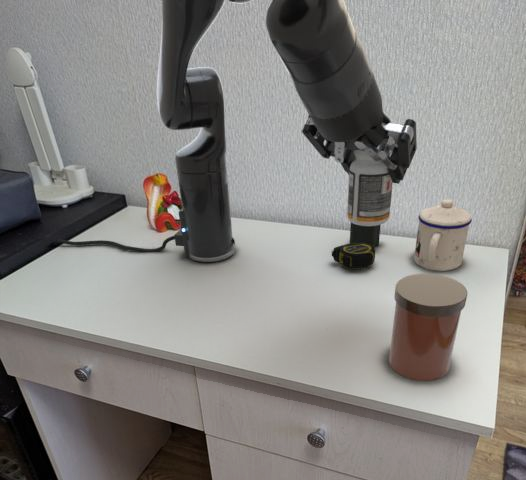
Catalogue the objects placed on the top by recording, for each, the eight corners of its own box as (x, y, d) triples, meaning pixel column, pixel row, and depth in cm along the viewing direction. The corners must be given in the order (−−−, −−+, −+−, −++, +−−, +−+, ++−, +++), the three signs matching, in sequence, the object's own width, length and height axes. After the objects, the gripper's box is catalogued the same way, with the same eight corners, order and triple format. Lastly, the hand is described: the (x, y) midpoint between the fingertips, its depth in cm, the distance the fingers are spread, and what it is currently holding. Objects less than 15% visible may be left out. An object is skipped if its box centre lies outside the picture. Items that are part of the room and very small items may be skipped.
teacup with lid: (419, 248, 99) (428, 190, 92) (467, 256, 95) (479, 195, 88) (402, 273, 90) (410, 211, 83) (453, 282, 86) (466, 218, 80)
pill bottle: (396, 218, 68) (405, 141, 62) (375, 230, 64) (382, 150, 58) (360, 210, 71) (365, 136, 65) (338, 222, 67) (342, 145, 62)
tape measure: (361, 255, 97) (362, 237, 95) (381, 268, 92) (383, 249, 90) (331, 262, 95) (331, 244, 93) (349, 276, 90) (351, 257, 88)
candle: (371, 253, 98) (382, 116, 83) (347, 248, 100) (354, 114, 86) (380, 244, 101) (393, 110, 87) (357, 239, 104) (366, 109, 89)
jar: (384, 377, 66) (393, 302, 59) (389, 341, 73) (397, 271, 66) (451, 386, 64) (469, 309, 57) (450, 349, 70) (466, 276, 64)
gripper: (416, 52, 47) (440, 154, 62) (291, 52, 55) (339, 143, 69) (387, 122, 47) (418, 208, 61) (265, 112, 54) (319, 191, 69)
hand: (376, 173), depth 65 cm, fingers closed on pill bottle, 5 cm apart
